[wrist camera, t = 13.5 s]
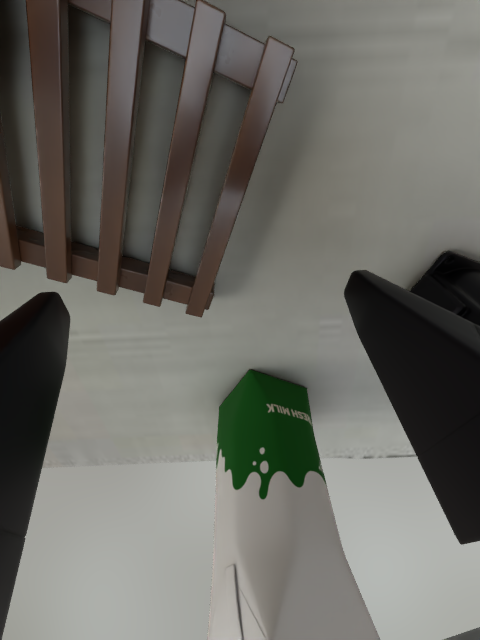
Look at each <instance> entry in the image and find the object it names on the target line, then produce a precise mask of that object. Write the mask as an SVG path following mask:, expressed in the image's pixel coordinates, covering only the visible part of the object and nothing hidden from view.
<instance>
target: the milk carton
mask: <svg viewBox="0 0 480 640" xmlns="http://www.w3.org/2000/svg"><path fill="white" fill-rule="evenodd" d="M213 554H214V555H213V573H212V587H211V600H210V612H209V625H208V636H207V640H380V638H379V636H378V633H377V631H376V628H375V626H374V624H373V621H372V619H371V617H370V614H369V612H368V610H367V607H366V605H365V602H364V600H363V598H362V595H361V593H360V591H359V588H358V586H357V583H356V581H355V579H354V576H353V574H352V572H351V569H350V567H349V564H348V562H347V560H346V557H345V554H344V551H343V548H342V544H341V541H340V537H339V533H338V529H337V525H336V521H335V517H334V513H333V509H332V505H331V501H330V498H329V493H328V489H327V485H326V481H325V477H324V473H323V469H322V465H321V461H320V457H319V453H318V449H317V445H316V441H315V437H314V432H313V426H312V419H311V413H310V406H309V400H308V393H307V388H305V387H302V386H299V385H296V384H293V383H290V382H287V381H284V380H281V379H278V378H275V377H271V376H268V375H265V374H262V373H259V372H256V371H253V370H249V371H248V372H247V373H246V375H245V376H244V377H243V378H242V380H241V381H240V382H239V383H238V385H237V386H236V387H235V388H234V390H233V391H232V392H231V393H230V394H229V396H228V397H227V398H226V399H225V401H224V402H223V403H222V404H221V406H220V407H219V420H218V434H217V461H216V491H215V522H214V551H213Z"/></svg>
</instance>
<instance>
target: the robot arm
mask: <svg viewBox="0 0 480 640" xmlns="http://www.w3.org/2000/svg"><path fill="white" fill-rule="evenodd" d="M449 257H450V258H449ZM448 258H449V259H448ZM447 259H448V260H447ZM344 297H345V300H346V303H347V305H348V308H349V311H350V314H351V317H352V320H353V322H354V325H355V328H356V331H357V333H358V335H359V338H360V340H361V342H362V344H363V346H364V348H365V350H366V352H367V354H368V356H369V358H370V360H371V363H372V365H373V367H374V369H375V371H376V373H377V375H378V377H379V379H380V381H381V383H382V385H383V387H384V389H385V391H386V393H387V395H388V398H389V400H390V402H391V404H392V406H393V408H394V410H395V412H396V414H397V416H398V418H399V420H400V422H401V424H402V426H403V428H404V430H405V432H406V435H407V437H408V439H409V441H410V443H411V445H412V447H413V449H414V451H415V453H416V455H417V456H418V459H419V462H420V463H421V466H422V468H423V470H424V472H425V474H426V476H427V478H428V480H429V482H430V484H431V486H432V488H433V490H434V492H435V495H436V497H437V499H438V501H439V503H440V505H441V507H442V509H443V511H444V513H445V515H446V517H447V519H448V521H449V523H450V525H451V527H452V530H453V532H454V534H455V535H456V537H457V539H458V541H459V543H460V544H467V543H471V542H476V541H480V263H479V262H477V261H474V260H472V259H469V258H467V257H464V256H462V255H459V254H457V253H454V252H452V251H448V252H445V253H443V254H442V255H441V256H440V257H439V258H438V260H437V261H436V262H435V263H434V264H433V265H432V266H431V268H430V269H429V270H428V271H427V272H426V273H425V275H424V276H423V277H422V278H421V279H420V280H419V281H418V283H417V284H416V285H415V286H414V287H413V288H412V290H411V291H410V292H409V291H407V290H405V289H403V288H401V287H399V286H397V285H395V284H393V283H391V282H389V281H387V280H385V279H383V278H381V277H379V276H377V275H375V274H373V273H371V272H369V271H367V270H357V271H353V272H352V273H351V276H350V278H349V280H348V283H347V285H346V288H345V291H344ZM69 328H70V315H69V312H68V310H67V308H66V306H65V304H64V303H63V301H62V299H61V297H60V295H59V294H58V293H57V292H42V293H39V294H37V295H36V296H34V297H33V298H32V299H30V300H29V301H28V302H26V303H25V304H23V305H22V306H21V307H19V308H18V309H17V310H15V311H14V312H12V313H11V314H10V315H8V316H7V317H6V318H4V319H3V320H1V321H0V640H2V635H3V631H4V627H5V623H6V618H7V614H8V610H9V606H10V601H11V597H12V593H13V589H14V585H15V580H16V576H17V572H18V567H19V563H20V559H21V555H22V551H23V547H24V542H25V536H26V533H27V529H28V524H29V520H30V516H31V512H32V507H33V503H34V499H35V495H36V490H37V486H38V482H39V478H40V474H41V469H42V465H43V461H44V457H45V452H46V448H47V444H48V440H49V435H50V431H51V427H52V423H53V419H54V414H55V410H56V406H57V402H58V397H59V393H60V389H61V385H62V380H63V376H64V372H65V367H66V359H67V349H68V338H69ZM444 640H480V627H479V628H476V629H473V630H470V631H467V632H464V633H461V634H458V635H456V636H452V637H450V638H447V639H444Z"/></svg>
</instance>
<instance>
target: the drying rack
mask: <svg viewBox="0 0 480 640" xmlns="http://www.w3.org/2000/svg"><path fill="white" fill-rule="evenodd" d="M68 4H69V5H71V6H73V7H75V8H78V9H80V10H82V11H84V12H86V13H88V14H90V15H92V16H95V17H97V18H99V19H101V20H103V21H105V22H107V23H109V24H110V41H109V61H108V81H107V100H106V120H105V140H104V159H103V179H102V199H101V218H100V238H99V249H97V248H93V247H90V246H86V245H83V244H79V243H76V242H73V241H71V188H70V117H69V45H68ZM26 9H27V22H28V35H29V48H30V61H31V74H32V87H33V100H34V113H35V127H36V140H37V153H38V166H39V179H40V192H41V205H42V218H43V232H44V233H41V232H38V231H34V230H31V229H27V228H24V227H20V226H17V225H16V222H15V215H14V208H13V200H12V193H11V186H10V178H9V171H8V164H7V157H6V149H5V142H4V135H3V127H2V120H1V113H0V266H1V267H5V268H8V269H12V270H15V269H16V268H17V267H19V266H20V265H21V261H22V262H26V263H30V264H34V265H38V266H41V267H45V268H46V271H47V278H48V279H51V280H55V281H59V282H63V283H67V282H68V281H69V280H70V279H71V278H72V275H76V276H80V277H84V278H87V279H91V280H95V281H97V291H99V292H103V293H107V294H111V295H116V293H117V291H118V289H119V287H122V288H126V289H129V290H133V291H137V292H141V293H144V298H143V303H147V304H151V305H154V306H158V307H160V306H161V303H162V299H163V298H164V299H168V300H172V301H175V302H179V303H183V304H187V308H186V314H190V315H194V316H198V317H202V315H203V312H204V309H206V310H208V309H209V307H210V304H211V301H212V299H213V296H214V289H215V282H214V281H215V278H216V275H217V272H218V269H219V266H220V264H221V261H222V258H223V255H224V252H225V249H226V246H227V243H228V241H229V238H230V235H231V232H232V229H233V226H234V223H235V220H236V218H237V215H238V212H239V209H240V206H241V203H242V200H243V197H244V195H245V192H246V189H247V186H248V183H249V180H250V177H251V175H252V172H253V169H254V166H255V163H256V160H257V157H258V154H259V152H260V149H261V146H262V143H263V140H264V137H265V134H266V131H267V129H268V126H269V123H270V120H271V117H272V114H273V111H274V108H275V106H276V103H283V101H284V99H285V96H286V93H287V90H288V88H289V85H290V82H291V79H292V76H293V74H294V71H295V68H296V65H297V60H295V59H293V58H292V57H293V54H294V50H295V49H294V48H293V47H291V46H289V45H287V44H285V43H283V42H281V41H279V40H278V39H276V38H274V37H272V36H269V37H268V38H267V40H266V43H265V44H264V43H262V42H260V41H258V40H256V39H254V38H252V37H251V36H249V35H247V34H245V33H243V32H241V31H239V30H237V29H235V28H233V27H231V26H229V25H227V24H226V23H225V21H226V13H225V12H224V11H223V10H221V9H219V8H217V7H215V6H213V5H211V4H210V3H208V2H206V1H204V0H196V3H195V7H193V6H191V5H189V4H187V3H185V2H183V1H181V0H26ZM145 40H146V41H148V42H150V43H152V44H154V45H156V46H158V47H160V48H162V49H165V50H167V51H169V52H171V53H173V54H175V55H177V56H179V57H182V58H184V59H186V60H185V65H184V71H183V77H182V82H181V88H180V94H179V99H178V105H177V111H176V116H175V122H174V128H173V134H172V139H171V145H170V151H169V156H168V162H167V168H166V173H165V179H164V185H163V190H162V196H161V202H160V207H159V213H158V219H157V224H156V230H155V236H154V241H153V247H152V253H151V259H150V264H149V263H146V262H142V261H139V260H135V259H132V258H128V257H125V256H122V252H123V243H124V234H125V224H126V215H127V206H128V196H129V187H130V178H131V168H132V159H133V150H134V140H135V131H136V122H137V112H138V103H139V94H140V84H141V75H142V66H143V56H144V47H145ZM214 73H216V74H218V75H220V76H222V77H224V78H226V79H228V80H230V81H232V82H235V83H237V84H239V85H241V86H243V87H245V88H247V89H249V90H251V93H250V96H249V100H248V103H247V107H246V110H245V113H244V117H243V120H242V123H241V127H240V130H239V133H238V137H237V140H236V143H235V147H234V150H233V154H232V157H231V160H230V164H229V167H228V170H227V174H226V177H225V180H224V184H223V187H222V190H221V194H220V197H219V201H218V204H217V207H216V211H215V214H214V217H213V221H212V224H211V227H210V231H209V234H208V237H207V241H206V244H205V248H204V251H203V254H202V258H201V261H200V264H199V268H198V271H197V274H196V277H194V276H191V275H187V274H184V273H180V272H177V271H174V270H170V269H169V268H170V264H171V259H172V255H173V250H174V246H175V242H176V237H177V233H178V228H179V224H180V220H181V215H182V211H183V206H184V202H185V197H186V193H187V189H188V184H189V180H190V175H191V171H192V167H193V162H194V158H195V153H196V149H197V145H198V140H199V136H200V131H201V127H202V122H203V118H204V114H205V109H206V105H207V100H208V96H209V92H210V87H211V83H212V78H213V74H214Z"/></svg>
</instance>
